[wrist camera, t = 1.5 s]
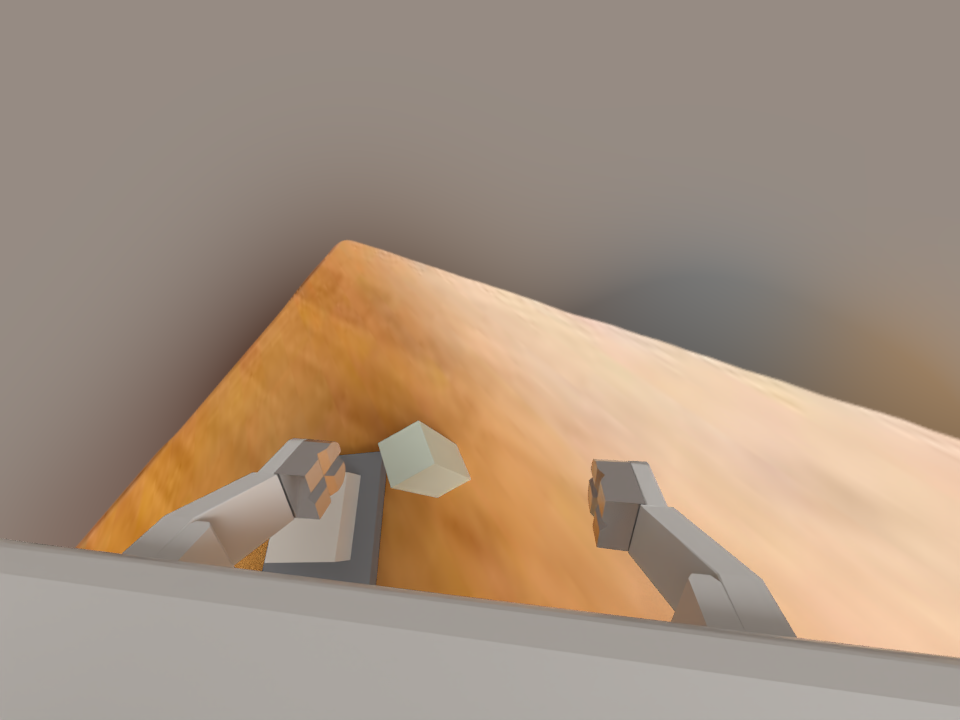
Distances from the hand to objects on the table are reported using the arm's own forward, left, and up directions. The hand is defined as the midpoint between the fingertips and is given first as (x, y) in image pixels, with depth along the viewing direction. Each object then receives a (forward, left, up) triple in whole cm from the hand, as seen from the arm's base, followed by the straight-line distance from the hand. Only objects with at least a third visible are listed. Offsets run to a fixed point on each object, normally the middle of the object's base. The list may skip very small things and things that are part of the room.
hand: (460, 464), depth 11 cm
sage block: (+6, +13, -33) cm, 36 cm away
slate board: (-2, +30, -33) cm, 45 cm away
